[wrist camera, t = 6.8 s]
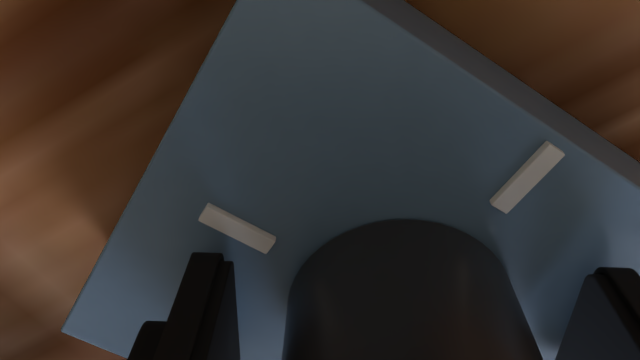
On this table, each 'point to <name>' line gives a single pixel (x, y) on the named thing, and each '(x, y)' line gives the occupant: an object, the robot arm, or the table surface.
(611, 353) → the robot arm
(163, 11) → the table surface
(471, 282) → the dimmer knob
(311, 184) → the dimmer panel
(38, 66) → the table surface
